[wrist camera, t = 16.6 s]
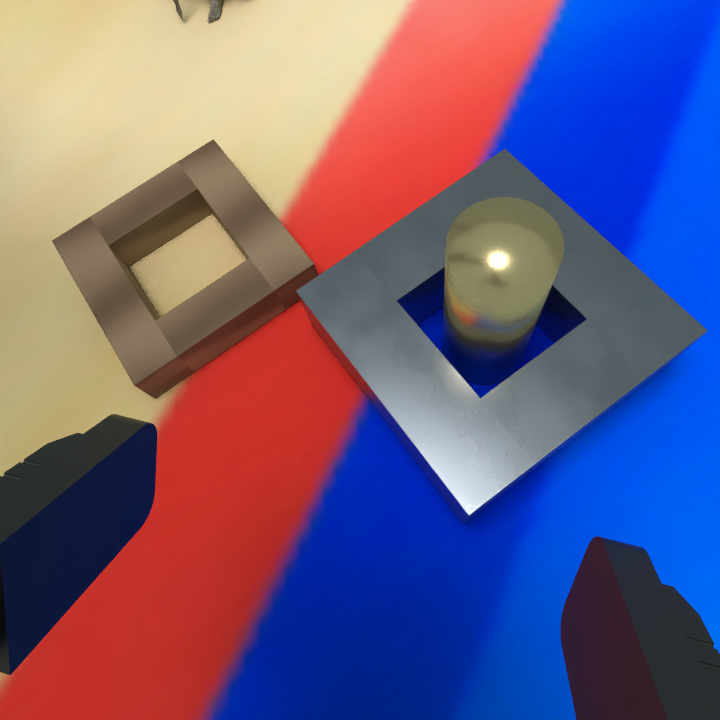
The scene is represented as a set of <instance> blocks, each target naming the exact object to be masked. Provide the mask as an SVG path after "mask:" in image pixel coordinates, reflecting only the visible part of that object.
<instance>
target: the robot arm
mask: <svg viewBox="0 0 720 720" xmlns="http://www.w3.org/2000/svg"><path fill="white" fill-rule="evenodd" d="M156 453H157V430H156V427H155V425H154V424H152V423H148V422H144V421H140V420H136V419H132V418H128V417H124V416H120V415H116V414H113V415H110V416H108V417H107V418H105V419H104V420H102V421H101V422H100V423H98V424H97V425H95V426H94V427H93V428H91V429H90V430H88V431H87V432H86V433H84V434H80V433H76V434H73V435H70V436H67V437H64V438H62V439H59V440H56V441H53V442H50V443H48V444H46V445H45V446H43V447H42V448H40V449H39V450H37V451H36V452H34V453H33V454H31V455H30V456H28V457H27V458H25V459H24V462H23V463H20V462H19V463H18V464H17V465H15V466H14V467H12V468H11V469H9V470H8V471H6V472H5V474H4V476H3V477H1V476H0V672H2V673H5V674H8V675H11V674H12V673H13V672H14V670H15V669H16V668H17V667H18V666H19V665H20V664H21V663H22V661H23V660H24V659H25V658H26V657H27V656H28V655H29V653H30V652H31V651H32V650H33V649H34V648H35V647H36V646H37V644H38V643H39V642H40V641H41V640H42V639H43V638H44V637H45V635H46V634H47V633H48V632H49V631H50V630H51V629H52V627H53V626H54V625H55V624H56V623H57V622H58V621H59V620H60V618H61V617H62V616H63V615H64V614H65V613H66V612H67V611H68V609H69V608H70V607H71V606H72V605H73V604H74V603H75V601H76V600H77V599H78V598H79V597H80V596H81V595H82V594H83V592H84V591H85V590H86V589H87V588H88V587H89V586H90V585H91V583H92V582H93V581H94V580H95V579H96V578H97V577H98V575H99V574H100V573H101V572H102V571H103V570H104V569H105V568H106V566H107V565H108V564H109V563H110V562H111V561H112V560H113V559H114V557H115V556H116V555H117V554H118V553H119V552H120V551H121V549H122V548H123V547H124V546H125V545H126V544H127V543H128V542H129V540H130V539H131V538H132V537H133V536H134V535H135V534H136V533H137V531H138V530H139V529H140V528H141V527H142V525H143V524H144V522H145V521H146V519H147V517H148V515H149V513H150V510H151V508H152V504H153V501H154V495H155V476H156ZM561 643H562V649H563V654H564V659H565V664H566V669H567V674H568V679H569V684H570V689H571V694H572V699H573V704H574V709H575V714H576V719H577V720H720V654H719V652H718V650H717V649H714V647H713V645H714V643H713V641H712V639H711V637H710V635H709V633H708V631H707V629H706V627H705V625H704V623H703V621H702V619H701V617H700V615H699V614H698V613H697V612H696V611H695V610H694V609H693V608H692V606H691V605H690V604H689V603H688V602H687V601H686V600H685V599H684V598H683V597H682V596H681V595H680V594H679V592H678V591H677V590H676V589H675V588H674V587H672V586H668V585H664V584H661V582H660V579H659V577H658V575H657V573H656V571H655V569H654V566H653V564H652V562H651V560H650V558H649V556H648V554H647V552H646V551H645V549H643V548H642V547H638V546H634V545H630V544H626V543H622V542H618V541H614V540H610V539H606V538H602V537H598V536H597V537H594V538H593V539H592V540H591V542H590V543H589V545H588V547H587V550H586V552H585V555H584V557H583V560H582V562H581V565H580V567H579V570H578V572H577V575H576V577H575V580H574V582H573V585H572V587H571V590H570V592H569V595H568V597H567V600H566V602H565V605H564V608H563V613H562V619H561Z"/></svg>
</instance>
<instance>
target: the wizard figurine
mask: <svg viewBox="0 0 720 720" xmlns="http://www.w3.org/2000/svg"><path fill="white" fill-rule="evenodd" d="M173 1H174V2H175V4H176V11H177V13H178V14H179V16H180V17H181V19H182V21H183V17H182V11H181V8H180V5H179V2H178V0H173ZM221 7H222V0H212V1H211V8H210V12H209V16H208V22H210V21H211V22H212V21H214V20H215V19H216V20H217V18H219V17H220V14H221Z"/></svg>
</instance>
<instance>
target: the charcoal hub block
mask: <svg viewBox="0 0 720 720" xmlns="http://www.w3.org/2000/svg"><path fill="white" fill-rule="evenodd" d="M496 197H513V198H519V199H523V200H526V201H529V202H532V203H534V204H536V205H538V206H539V207H541V208H542V209H544V210H545V211H546V212H548V213H549V214H550V215H551V216H552V217H553V218H554V220H555V221H556V223H557V224H558V226H559V228H560V230H561V232H562V235H563V240H564V255H563V259H562V262H561V265H560V267H559V269H558V272H557V274H556V277H555V279H554V282H553V284H552V287H551V289H550V291H549V294H548V296H547V299H546V301H545V304H544V306H543V309H542V311H541V313H540V316H539V318H538V321H537V324H538V325H539V326H540V327H541V328H542V329H543V331H544V332H545V333H546V334H547V335H548V336H549V337H550V338H551V339H552V340H553V341H554V342H555V343H554V344H553V345H552V346H550V347H549V348H548V349H546V350H545V351H544V352H542V353H541V354H540V355H538V356H537V357H535V358H534V359H533V360H531V361H530V362H529V363H527V364H526V365H525V366H523V367H522V368H521V369H519V370H518V371H517V372H515V373H514V374H513V375H511V376H510V377H509V378H507V379H506V380H505V381H503V382H502V383H501V384H499V385H498V386H496V387H495V388H494V389H492V390H491V391H490V392H488V393H487V394H486V395H484V396H483V397H482V398H479V396H478V395H477V394H476V393H475V392H474V391H473V389H472V388H471V387H470V386H469V385H468V384H467V382H466V381H465V380H464V379H463V378H462V377H461V375H460V374H459V373H458V372H457V371H456V370H455V368H454V367H453V366H452V365H451V364H450V363H449V361H448V360H447V359H446V358H445V357H444V356H443V354H442V353H441V352H440V351H439V350H438V349H437V347H436V346H435V345H434V344H433V343H432V342H431V340H430V339H429V338H428V337H427V336H426V335H425V333H424V332H423V331H422V330H421V329H420V328H419V326H418V325H417V324H419V323H420V322H421V321H423V320H424V319H426V318H427V317H428V316H430V315H431V314H433V313H434V312H436V311H437V310H438V309H440V308H441V307H443V306H444V284H445V258H446V239H447V235H448V232H449V229H450V227H451V225H452V223H453V222H454V220H455V219H456V218H457V217H458V216H459V215H460V214H461V213H462V212H463V211H464V210H465V209H467V208H468V207H470V206H471V205H473V204H475V203H477V202H480V201H483V200H486V199H490V198H496ZM296 292H297V294H298V296H299V298H300V301H301V303H302V305H303V307H304V309H305V311H306V313H307V315H308V317H309V319H310V321H311V323H312V326H313V327H314V329H315V330H316V331H317V332H318V334H319V335H320V336H321V338H322V339H323V340H324V342H325V343H326V344H327V346H328V347H329V348H330V350H331V351H332V352H333V353H334V355H335V356H336V357H337V359H338V360H339V361H340V363H341V364H342V365H343V367H344V368H345V369H346V371H347V372H348V373H349V374H350V376H351V377H352V378H353V380H354V381H355V382H356V384H357V385H358V386H359V388H360V389H361V390H362V392H363V393H364V394H365V396H366V397H367V398H368V399H369V401H370V402H371V403H372V405H373V406H374V407H375V409H376V410H377V411H378V413H379V414H380V415H381V417H382V418H383V419H384V420H385V422H386V423H387V424H388V426H389V427H390V428H391V430H392V431H393V432H394V434H395V435H396V436H397V438H398V439H399V440H400V441H401V443H402V444H403V445H404V447H405V448H406V449H407V451H408V452H409V453H410V455H411V456H412V457H413V459H414V460H415V461H416V462H417V464H418V465H419V466H420V468H421V469H422V470H423V472H424V473H425V474H426V476H427V477H428V478H429V480H430V481H431V482H432V484H433V485H434V486H435V487H436V489H437V490H438V491H439V493H440V494H441V495H442V497H443V498H444V499H445V501H446V502H447V503H448V505H449V506H450V507H451V508H452V510H453V511H454V512H455V514H456V515H457V516H458V518H459V519H460V520H461V522H462V523H463V524H464V523H465V522H467V521H468V520H469V519H470V518H472V517H473V516H474V515H476V514H477V513H478V512H479V511H481V510H482V509H483V508H485V507H486V506H487V505H488V504H490V503H491V502H492V501H494V500H495V499H496V498H498V497H499V496H500V495H501V494H503V493H504V492H505V491H507V490H508V489H509V488H510V487H512V486H513V485H514V484H516V483H517V482H518V481H520V480H521V479H522V478H523V477H525V476H526V475H527V474H529V473H530V472H531V471H532V470H534V469H535V468H536V467H538V466H539V465H540V464H541V463H543V462H544V461H545V460H547V459H548V458H549V457H551V456H552V455H553V454H554V453H556V452H557V451H558V450H560V449H561V448H562V447H563V446H565V445H566V444H567V443H569V442H570V441H571V440H572V439H574V438H575V437H576V436H578V435H579V434H580V433H582V432H583V431H584V430H585V429H587V428H588V427H589V426H591V425H592V424H593V423H594V422H596V421H597V420H598V419H600V418H601V417H602V416H604V415H605V414H606V413H607V412H609V411H610V410H611V409H613V408H614V407H615V406H616V405H618V404H619V403H620V402H622V401H623V400H624V399H625V398H627V397H628V396H629V395H631V394H632V393H633V392H635V391H636V390H637V389H638V388H640V387H641V386H642V385H644V384H645V383H646V382H647V381H649V380H650V379H651V378H653V377H654V376H655V375H657V374H658V373H659V372H660V371H662V370H663V369H664V368H666V367H667V366H668V365H669V364H671V363H672V362H673V361H674V360H675V359H676V358H677V357H678V356H680V355H681V354H682V353H683V352H684V351H685V350H686V349H688V348H689V347H690V346H691V345H692V344H693V343H694V342H696V341H697V340H698V339H699V338H700V337H701V336H702V335H704V334H705V333H706V332H707V330H706V329H705V328H704V327H703V326H702V325H701V324H700V323H699V322H697V321H696V320H695V319H694V318H693V317H692V316H691V315H690V314H688V313H687V312H686V311H685V310H684V309H683V308H682V307H681V306H680V305H678V304H677V303H676V302H675V301H674V300H673V299H672V298H671V297H670V296H668V295H667V294H666V293H665V292H664V291H663V290H662V289H661V288H660V287H658V286H657V285H656V284H655V283H654V282H653V281H652V280H651V279H649V278H648V277H647V276H646V275H645V274H644V273H643V272H642V271H641V270H639V269H638V268H637V267H636V266H635V265H634V264H633V263H632V262H631V261H629V260H628V259H627V258H626V257H625V256H624V255H623V254H622V253H621V252H619V251H618V250H617V249H616V248H615V247H614V246H613V245H612V244H611V243H609V242H608V241H607V240H606V239H605V238H604V237H603V236H602V235H600V234H599V233H598V232H597V231H596V230H595V229H594V228H593V227H592V226H590V225H589V224H588V223H587V222H586V221H585V220H584V219H583V218H582V217H580V216H579V215H578V214H577V213H576V212H575V211H574V210H573V209H572V208H570V207H569V206H568V205H567V204H566V203H565V202H564V201H563V200H561V199H560V198H559V197H558V196H557V195H556V194H555V193H554V192H553V191H551V190H550V189H549V188H548V187H547V186H546V185H545V184H544V183H543V182H541V181H540V180H539V179H538V178H537V177H536V176H535V175H534V174H533V173H531V172H530V171H529V170H528V169H527V168H526V167H525V166H524V165H522V164H521V163H520V162H519V161H518V160H517V159H516V158H515V157H514V156H512V155H511V154H510V153H509V152H508V151H507V150H506V149H504V150H502V151H501V152H499V153H498V154H496V155H495V156H493V157H492V158H491V159H489V160H488V161H486V162H485V163H483V164H482V165H480V166H479V167H477V168H476V169H474V170H473V171H471V172H470V173H468V174H467V175H466V176H464V177H463V178H461V179H460V180H458V181H457V182H455V183H454V184H452V185H451V186H449V187H448V188H446V189H445V190H444V191H442V192H441V193H439V194H438V195H436V196H435V197H433V198H432V199H430V200H429V201H427V202H426V203H424V204H423V205H421V206H420V207H419V208H417V209H416V210H414V211H413V212H411V213H410V214H408V215H407V216H405V217H404V218H402V219H401V220H399V221H398V222H396V223H395V224H394V225H392V226H391V227H389V228H388V229H386V230H385V231H383V232H382V233H380V234H379V235H377V236H376V237H374V238H373V239H372V240H370V241H369V242H367V243H366V244H364V245H363V246H361V247H360V248H358V249H357V250H355V251H354V252H352V253H351V254H349V255H348V256H347V257H345V258H344V259H342V260H341V261H339V262H338V263H336V264H335V265H333V266H332V267H330V268H329V269H327V270H326V271H324V272H323V273H322V274H320V275H319V276H317V277H316V278H314V279H313V280H311V281H310V282H308V283H307V284H305V285H304V286H302V287H301V288H300V289H298V290H297V291H296Z"/></svg>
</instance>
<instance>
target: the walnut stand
mask: <svg viewBox="0 0 720 720" xmlns="http://www.w3.org/2000/svg"><path fill="white" fill-rule="evenodd" d="M211 213H213V214H214V216H215V217H216V218H217V220H218V221H219V222H220V224H221V225H222V226H223V228H224V229H225V230H226V232H227V233H228V234H229V236H230V237H231V238H232V240H233V241H234V242H235V244H236V245H237V246H238V248H239V249H240V251H241V252H242V253H243V255H244V256H245V257H246V259H247V260H246V261H245V262H243V263H242V264H240V265H239V266H237V267H236V268H234V269H233V270H231V271H230V272H228V273H227V274H225V275H224V276H222V277H221V278H219V279H218V280H216V281H215V282H213V283H212V284H210V285H209V286H207V287H206V288H204V289H203V290H201V291H200V292H198V293H197V294H195V295H194V296H192V297H191V298H189V299H187V300H186V301H184V302H183V303H181V304H180V305H178V306H177V307H175V308H174V309H172V310H171V311H169V312H168V313H166V314H165V315H163V316H162V317H160V316H159V314H158V312H157V311H156V309H155V308H154V306H153V305H152V303H151V301H150V300H149V298H148V297H147V295H146V293H145V292H144V290H143V289H142V287H141V285H140V284H139V282H138V281H137V279H136V277H135V276H134V274H133V273H132V271H131V270H130V268H129V266H130V265H132V264H134V263H135V262H137V261H138V260H140V259H141V258H143V257H144V256H146V255H147V254H149V253H151V252H152V251H154V250H155V249H157V248H158V247H160V246H161V245H163V244H165V243H166V242H168V241H169V240H171V239H172V238H174V237H175V236H177V235H178V234H180V233H182V232H183V231H185V230H186V229H188V228H189V227H191V226H192V225H194V224H195V223H197V222H199V221H200V220H202V219H203V218H205V217H206V216H208V215H209V214H211ZM52 242H53V244H54V245H55V247H56V249H57V251H58V252H59V254H60V256H61V258H62V259H63V261H64V263H65V265H66V266H67V268H68V270H69V272H70V273H71V275H72V277H73V279H74V280H75V282H76V284H77V286H78V287H79V289H80V291H81V293H82V294H83V296H84V298H85V300H86V302H87V303H88V305H89V307H90V309H91V310H92V312H93V314H94V316H95V317H96V319H97V321H98V323H99V324H100V326H101V328H102V330H103V331H104V333H105V335H106V337H107V338H108V340H109V342H110V344H111V345H112V347H113V349H114V351H115V352H116V354H117V356H118V358H119V359H120V361H121V363H122V365H123V366H124V368H125V370H126V372H127V373H128V375H129V377H130V379H131V381H132V382H133V384H134V386H136V387H138V388H139V389H141V390H142V391H144V392H146V393H147V394H149V395H150V396H152V397H153V398H155V399H156V398H157V397H159V396H160V395H162V394H163V393H164V392H166V391H167V390H169V389H170V388H172V387H173V386H175V385H176V384H178V383H179V382H181V381H182V380H183V379H185V378H186V377H188V376H189V375H191V374H192V373H194V372H195V371H197V370H198V369H200V368H201V367H202V366H204V365H205V364H207V363H208V362H210V361H211V360H213V359H214V358H216V357H217V356H219V355H220V354H221V353H223V352H224V351H226V350H227V349H229V348H230V347H232V346H233V345H235V344H236V343H238V342H239V341H241V340H242V339H243V338H245V337H246V336H248V335H249V334H251V333H252V332H254V331H255V330H257V329H258V328H260V327H261V326H262V325H264V324H265V323H267V322H268V321H270V320H271V319H273V318H274V317H276V316H277V315H279V314H280V313H281V312H283V311H284V310H286V309H287V308H289V307H290V306H292V305H293V304H295V303H296V302H298V301H299V300H300V298H299V296H298V294H297V292H296V291H297V290H298V289H300V288H301V287H302V286H304V285H305V284H307V283H308V282H310V281H311V280H313V279H314V278H316V277H317V276H318V273H317V270H316V268H315V265H314V263H313V262H312V261H311V259H310V258H309V257H308V256H307V254H306V253H305V252H304V251H303V250H302V248H301V247H300V246H299V245H298V243H297V242H296V241H295V240H294V238H293V237H292V236H291V235H290V233H289V232H288V231H287V230H286V228H285V227H284V226H283V225H282V224H281V222H280V221H279V220H278V219H277V217H276V216H275V215H274V214H273V212H272V211H271V210H270V209H269V207H268V206H267V205H266V204H265V203H264V201H263V200H262V199H261V198H260V196H259V195H258V194H257V193H256V191H255V190H254V189H253V188H252V186H251V185H250V184H249V183H248V181H247V180H246V179H245V178H244V177H243V175H242V174H241V173H240V172H239V170H238V169H237V168H236V167H235V165H234V164H233V163H232V162H231V160H230V159H229V158H228V157H227V155H226V154H225V153H224V152H223V151H222V149H221V148H220V147H219V146H218V144H217V143H216V142H215V141H214V139H213V140H212V141H210V142H208V143H207V144H205V145H204V146H202V147H200V148H199V149H197V150H196V151H194V152H192V153H191V154H189V155H188V156H186V157H185V158H183V159H181V160H180V161H178V162H177V163H175V164H173V165H172V166H170V167H169V168H167V169H165V170H164V171H162V172H161V173H159V174H157V175H156V176H154V177H153V178H151V179H149V180H148V181H146V182H145V183H143V184H142V185H140V186H138V187H137V188H135V189H134V190H132V191H130V192H129V193H127V194H126V195H124V196H122V197H121V198H119V199H118V200H116V201H114V202H113V203H111V204H110V205H108V206H107V207H105V208H103V209H102V210H100V211H99V212H97V213H95V214H94V215H92V216H91V217H89V218H87V219H86V220H84V221H83V222H81V223H79V224H78V225H76V226H75V227H73V228H72V229H70V230H68V231H67V232H65V233H64V234H62V235H60V236H59V237H57V238H56V239H54V240H52Z"/></svg>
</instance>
